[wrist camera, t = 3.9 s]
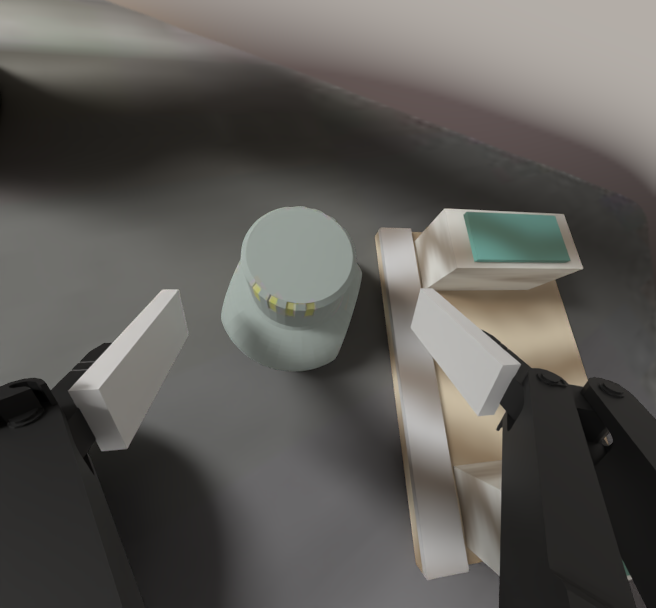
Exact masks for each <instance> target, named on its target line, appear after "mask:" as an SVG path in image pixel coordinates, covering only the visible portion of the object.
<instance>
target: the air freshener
mask: <svg viewBox="0 0 656 608" xmlns="http://www.w3.org/2000/svg"><path fill="white" fill-rule="evenodd" d="M356 259H357V258H356V251H355V247H354V244H353V241H352V239H351V238H350V236H349V234H348V232H347V231H346V230H345V228H344V227H341V226H340V225H339V224H338V223H337V220H335V219H334V218H333V217H331V216H327V215H326V214H324V213H322V211H319V210H317V209H310V208H306V207H303V206H296V207H283V208H279V209H276V210H273V211H271V212H269V213H267V214H265V215H263V216H262V217H261V218H260V219H258V220H257V221H256V222H255V223H254V224H253V225H252V226H251V228H250V229H249V231H248V232H247V234H246V236H245V238H244V241H243V244H242V249H241V260H240V262H239V264H238V266H237V268H236V270H235V272H234V275H233V277H232V280H231V282H230V285H229V288H228V291H227V293H226V297H225V300H224V304H223V308H222V313H221V320H222V323H223V326H224V328H225V330H226V332H227V334H228V335H229V337H230V339H231V340H232V342H233V343H234V344H235V345H236V346H237V347H238V348H239V350H240V351H242V352H243V353H244V354H245V355H247V356H248V357H249V358H250V359H252V360H254V361H256V362H258V363H259V364H261V365H263V366H266V367H269V368H272V369H275V370H282V371H305V370H310V369H315V368H318V367H320V366H323V365H326V364H328V363H329V362H331V361H333V360H334V359H335V358H336V357H337V355H338V353H339V350H340V348H341V345H342V343H343V340H344V338H345V335H346V332H347V329H348V326H349V323H350V320H351V317H352V314H353V311H354V307H355V304H356V300H357V297H358V293H359V289H360V284H361V279H362V271H361V269H360V267H359V266H358V264H357V262H356Z"/></svg>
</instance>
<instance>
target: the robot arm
mask: <svg viewBox="0 0 656 608" xmlns="http://www.w3.org/2000/svg"><path fill="white" fill-rule="evenodd" d="M0 106H1V94H0ZM411 329H412V330H413V332H414V333H415V334H416V336H417V337H418V338H419V340H420V341H421V342H422V344H423V345H424V346H425V347H426V349H427V350H428V351H429V353H430V354H431V355H432V357H433V358H434V359H435V361H436V362H437V363H438V365H439V366H440V367H441V369H442V370H443V371H444V372H445V374H446V375H447V376H448V378H449V379H450V380H451V382H452V383H453V384H454V386H455V387H456V388H457V390H458V391H459V392H460V393H461V395H462V396H463V397H464V399H465V400H466V401H467V403H468V404H469V405H470V407H471V408H472V409H473V411H474V412H475V413H476V415H477V416H486V415H494V414H495V412H496V410H497V408H498V407H499V405H501V406H502V407H503V408H504V409H505V410H506V412H505V414H504V416H503V417H502V419H501V421H500V423H499V424H498V426H497V429H496V430H497V431H499V430H500V429H501V428H503V429H502V481H501V534H500V586H499V608H636V605H635V602H634V598H633V595H632V592H631V588H630V585H629V582H628V578H627V575H626V572H625V568H624V565H623V562H624V564H625V566H626V568H627V570H628V572H629V574H630V576H631V578H632V579H633V581H634V583H635V585H636V587H637V589H638V591H639V593H640V595H641V597H642V599H643V601H644V603H645V605H646V607H647V608H656V419H655V418H654V417H653V416H652V415H651V414H650V413H649V412H648V411H647V410H646V409H645V408H644V406H643V405H642V404H641V403H640V402H639V401H638V400H637V399H636V398H635V397H634V396H633V395H632V394H631V393H630V392H629V391H627V390H626V389H624V388H623V387H621V386H620V385H619V384H617V383H613V382H612V381H609V380H605V379H602V378H595V377H593V378H589V380H588V381H587V382H586V384H585V385H584V387H582V386H577V385H571V384H568V383H567V382H566V381H565V380H564V379H563V378H562V377H560V376H558V375H557V374H555V373H553V372H550V371H548V370H545V369H541V368H531V367H530V366H529V365H528V364H526V363H525V362H524V361H523V360H522V359H520V358H519V357H518V356H517V355H516V354H514V353H513V352H512V351H511V350H510V349H508V348H507V347H506V346H505V345H504V344H501V342H500V341H499V340H498V339H496V338H495V337H494V336H493V335H491V334H489V333H487V332H486V331H484V330H481V329H479V328H478V327H477V326H476V325H475V324H474V323H472V322H471V321H470V320H469V319H468V318H467V317H465V316H464V315H463V314H462V313H461V312H460V311H458V310H457V309H456V308H455V307H454V306H453V305H451V304H450V303H449V302H448V301H447V300H446V299H444V298H443V297H442V296H441V295H440V294H439V293H437V292H436V291H435V290H434V289H433V288H421V289H420V293H419V296H418V300H417V304H416V308H415V312H414V316H413V320H412V324H411ZM188 335H189V333H188V328H187V324H186V319H185V315H184V310H183V306H182V302H181V297H180V293H179V289H178V290H161V291H160V293H159V294H158V295H157V296H156V297H155V298H154V299H153V300H152V301H151V302H150V303H149V304H148V305H147V307H146V308H145V309H144V310H143V311H142V312H141V313H140V314H139V315H138V316H137V317H136V318H135V319H134V320H133V322H132V323H131V324H130V325H129V326H128V327H127V328H126V329H125V330H124V331H123V332H122V333H121V334H120V335H119V337H118V338H117V339H116V340H115V341H114V342H113V343H104V344H102V345H100V346H98V347H97V348H95V349H93V350H92V351H90V352H89V353H88V354H87V355H86V356H85V357H84V358H83V359H82V360H81V361H80V363H78V364H77V365H76V366H75V367H74V368H73V369H72V371H70V372H69V373H68V374H67V375H66V376H65V377H64V378H63V379H62V380H61V381H60V382H59V383H58V384H57V385H56V386H55V387H54V388H53V389H52V390H51V391H50V389H49V387H48V386H47V384H46V383H45V382H44V381H43V380H42V379H38V378H28V379H21V380H18V381H14V382H11V383H8V384H5V385H3V386H1V387H0V608H145V605H144V603H143V600H142V597H141V594H140V592H139V589H138V586H137V583H136V581H135V578H134V575H133V572H132V570H131V567H130V564H129V561H128V559H127V556H126V553H125V550H124V548H123V545H122V542H121V539H120V537H119V534H118V531H117V528H116V526H115V523H114V520H113V517H112V515H111V512H110V509H109V506H108V504H107V501H106V498H105V495H104V493H103V490H102V487H101V484H100V482H99V479H98V476H97V473H96V471H95V468H94V465H93V462H92V460H91V457H90V456H89V454H88V450H89V449H90V447H91V446H92V444H93V443H94V441H96V442H97V444H98V446H99V448H100V450H101V451H111V450H121V449H128V447H129V445H130V443H131V441H132V439H133V437H134V436H135V434H136V432H137V430H138V428H139V426H140V424H141V423H142V421H143V419H144V417H145V415H146V413H147V411H148V410H149V408H150V406H151V404H152V402H153V400H154V398H155V397H156V395H157V393H158V391H159V389H160V387H161V385H162V384H163V382H164V380H165V378H166V376H167V374H168V372H169V371H170V369H171V367H172V365H173V363H174V361H175V359H176V358H177V356H178V354H179V352H180V350H181V348H182V346H183V345H184V343H185V341H186V339H187V337H188ZM609 432H610V433H611V435H612V438H613V443H612V444H611V445H608V444H607V442H606V441H605V440H604V438H605V437H606V436H607V435H608V434H609ZM622 560H623V562H622Z"/></svg>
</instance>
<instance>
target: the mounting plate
mask: <svg viewBox="0 0 656 608" xmlns="http://www.w3.org/2000/svg"><path fill="white" fill-rule="evenodd" d="M375 241H376V249H377V257H378V265H379V273H380V281H381V289H382V297H383V305H384V313H385V321H386V329H387V337H388V345H389V353H390V361H391V369H392V377H393V385H394V393H395V401H396V409H397V417H398V425H399V433H400V441H401V448H402V456H403V464H404V472H405V480H406V488H407V496H408V504H409V512H410V520H411V528H412V536H413V544H414V552H415V560H416V565H417V566H418V567H419V569H420V570H421V572H422V573H423V574H424V576H425V577H426V579H427V580H430V579H435V578H440V577H445V576H450V575H455V574H460V573H465V572H469V567H468V565H469V564H474V563H479V562H484V563H485V564H487V565H488V566H489V567H490V568H491V569H492V570H493V571H494V572H495V573H496V574H498V575H499V576H500V534H501V481H502V429H503V428H501V429H500V430H499V431H497V430H496V429H497V426H498V424H499V423H500V421H501V419H502V417H503V416H504V414H505V412H506V410H505V409H504V408H503V407H502V406H501V405H499V407H498V408H497V410H496V412H495V414H494V415H486V416H477V415H476V413H475V412H474V411H473V409H472V408H471V407H470V405H469V404H468V403H467V401H466V400H465V399H464V397H463V396H462V395H461V393H460V392H459V391H458V390H457V388H456V387H455V386H454V384H453V383H452V382H451V380H450V379H449V378H448V376H447V375H446V374H445V372H444V371H443V370H442V369H441V367H440V366H439V365H438V363H437V362H436V361H435V359H434V358H433V357H432V355H431V354H430V353H429V351H428V350H427V349H426V347H425V346H424V345H423V344H422V342H421V341H420V340H419V338H418V337H417V336H416V334H415V333H414V332H413V330H412V329H411V324H412V320H413V316H414V312H415V308H416V304H417V300H418V296H419V293H420V289H421V288H433V289H434V290H435V291H436V292H437V293H439V294H440V295H441V296H442V297H443V298H444V299H446V300H447V301H448V302H449V303H450V304H451V305H453V306H454V307H455V308H456V309H457V310H458V311H460V312H461V313H462V314H463V315H464V316H465V317H467V318H468V319H469V320H470V321H471V322H472V323H474V324H475V325H476V326H477V327H478V328H479V329H481V330H484V331H486V332H487V333H489V334H491V335H493V336H494V337H495V338H496V339H498V340H499V341H500V342H501V344H504V345H505V346H506V347H507V348H508V349H510V350H511V351H512V352H513V353H514V354H516V355H517V356H518V357H519V358H520V359H522V360H523V361H524V362H525V363H526V364H528V365H529V366H530V367H531V368H541V369H545V370H548V371H550V372H553V373H555V374H557V375H558V376H560V377H562V378H563V379H564V380H565V381H566V382H567V383H568V384H571V385H577V386H582V387H584V385H585V384H586V382H587V381H588V379H587V376H586V373H585V370H584V367H583V364H582V361H581V358H580V355H579V352H578V349H577V345H576V342H575V339H574V336H573V333H572V330H571V327H570V324H569V321H568V318H567V315H566V311H565V308H564V305H563V302H562V299H561V296H560V293H559V290H558V287H557V284H556V281H555V279H558V278H560V277H563V276H566V275H568V274H571V273H574V272H576V271H579V270H581V269H583V266H582V264H581V261H580V258H579V255H578V252H577V250H576V247H575V244H574V241H573V239H572V236H571V233H570V230H569V227H568V225H567V222H566V219H565V216H564V214H551V213H530V212H508V211H487V210H466V209H445V208H444V210H443V211H442V212H441V213H440V214H439V215H438V216H437V217H436V218H435V219H434V221H433V222H432V223H431V224H430V225H429V226H428V227H427V228H426V229H425V230H424V232H411V229H410V228H380V229H379V231H378V232H377V234H376V236H375ZM604 440H605V441H606V442H607V444H608V441H607V438H606V437H605V438H604ZM608 445H609V444H608ZM622 562H623V560H622ZM623 565H624V568H625V572H626V575H627V578H628V580H632V578H631V576H630V574H629V572H628V570H627V568H626V566H625V564H624V562H623Z"/></svg>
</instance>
